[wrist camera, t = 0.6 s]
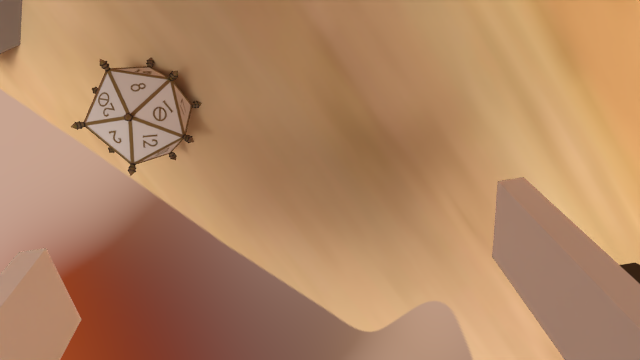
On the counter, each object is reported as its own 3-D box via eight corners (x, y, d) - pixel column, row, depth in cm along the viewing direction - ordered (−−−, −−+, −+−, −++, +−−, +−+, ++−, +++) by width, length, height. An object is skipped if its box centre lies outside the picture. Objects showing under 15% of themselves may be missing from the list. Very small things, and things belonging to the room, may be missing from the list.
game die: (171, 74, 41) (48, 91, 36) (199, 28, 34) (52, 39, 29) (203, 166, 41) (85, 197, 35) (238, 138, 34) (97, 171, 28)
